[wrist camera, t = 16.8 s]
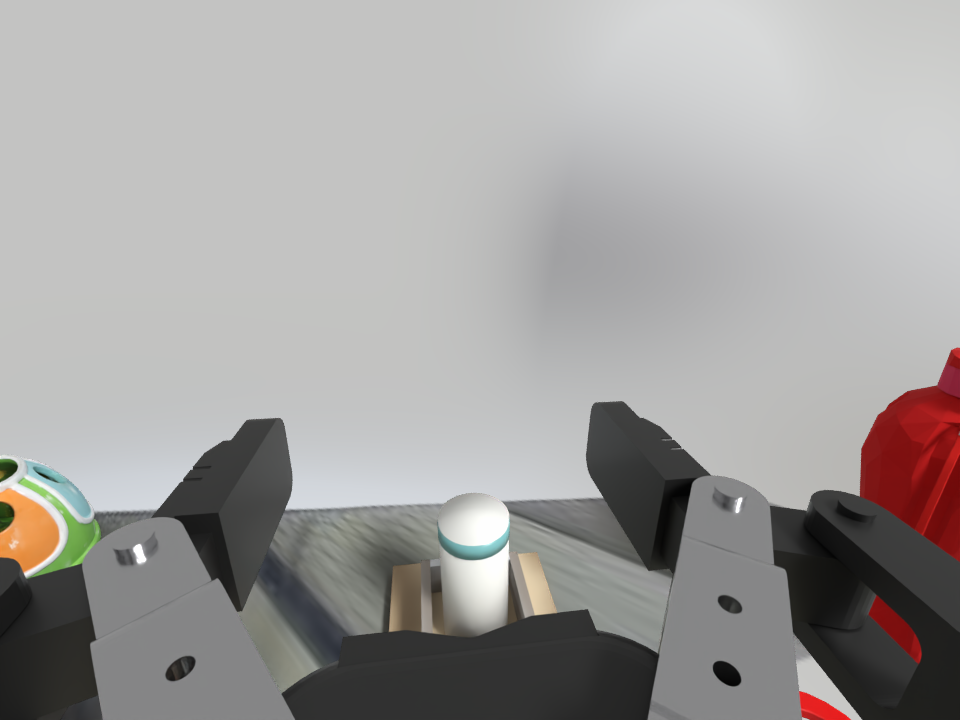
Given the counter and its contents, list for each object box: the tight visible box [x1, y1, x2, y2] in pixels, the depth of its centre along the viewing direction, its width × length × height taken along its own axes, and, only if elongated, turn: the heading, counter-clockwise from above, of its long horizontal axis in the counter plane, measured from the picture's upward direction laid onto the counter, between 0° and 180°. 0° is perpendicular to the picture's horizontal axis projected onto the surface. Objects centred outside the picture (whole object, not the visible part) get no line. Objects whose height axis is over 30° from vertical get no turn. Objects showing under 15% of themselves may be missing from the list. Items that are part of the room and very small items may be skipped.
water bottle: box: [860, 348, 960, 664], centre depth 32 cm, size 9×11×25 cm
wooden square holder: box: [389, 552, 557, 635], centre depth 36 cm, size 14×14×4 cm
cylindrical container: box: [437, 493, 510, 638], centre depth 34 cm, size 5×5×11 cm
